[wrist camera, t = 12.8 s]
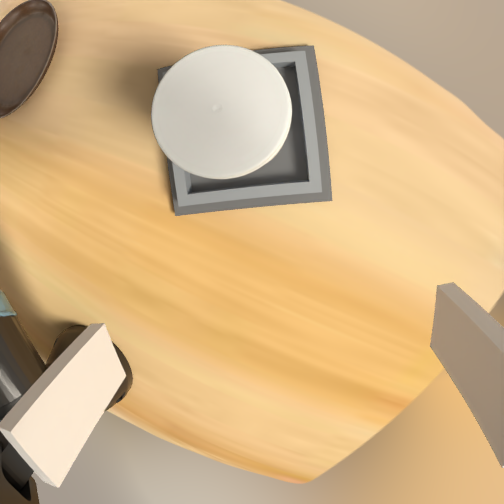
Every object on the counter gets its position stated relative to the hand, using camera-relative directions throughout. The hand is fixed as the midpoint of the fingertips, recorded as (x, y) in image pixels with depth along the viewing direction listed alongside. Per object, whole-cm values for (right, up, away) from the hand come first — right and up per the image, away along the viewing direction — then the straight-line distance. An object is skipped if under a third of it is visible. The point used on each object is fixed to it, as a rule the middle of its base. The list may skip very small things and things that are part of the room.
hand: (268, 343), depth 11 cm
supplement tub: (-1, +17, +21) cm, 27 cm away
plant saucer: (-38, +34, +20) cm, 55 cm away
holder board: (-2, +17, +22) cm, 28 cm away
